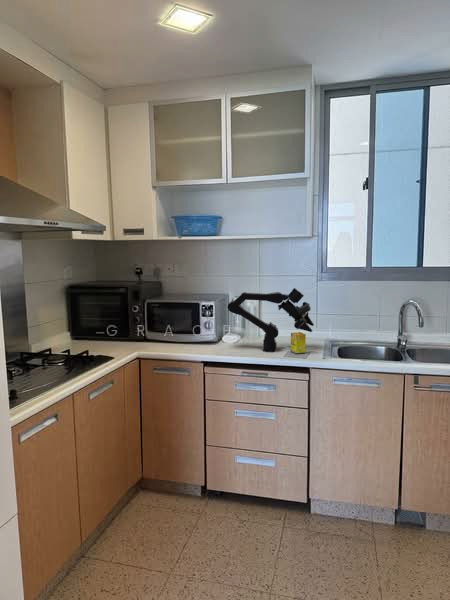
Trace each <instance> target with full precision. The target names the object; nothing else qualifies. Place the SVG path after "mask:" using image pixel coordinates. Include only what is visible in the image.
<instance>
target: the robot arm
mask: <svg viewBox="0 0 450 600" xmlns="http://www.w3.org/2000/svg"><path fill="white" fill-rule="evenodd" d="M303 298H304V294H303V293H302V292H301V291H300V290H298V289H297V288H295V287H293V288H292V290H291V291H290V292H289V294H286V293H285V294H284V293H282V292H280V291H279V292H278V291H276V292H269V293H262V292H261V293H256V292H242V293H241V294H240V295H239V296H238V297H237V298H236V299H235V300H231V301H229V303H228V304H227V310H228V311H229V312H230V313H233V314H235V315H238V316H241V317H242V318H243V319H245V320H247V321H248V322H250V323H251V324H253V325H255V326H256V327H258V328H259V329H261V330H262V331H263V332H264V337H263V344H262V345H263V349H262V352H269V353H275V352H276V351H277V347H278V345H277V343H278V342H277V341H276V338H277V337H279V336H278V335H279V329H278V326H277V325H276V324H273V323H272V322H271V321H270V322H269V323H267V322H265V321H263V319H260V318H259V317H257V315H254V314H253V313H251V312H249V311H247V310H246V308H244V307H243V306H242V305H241V304H243V303H244V302H245V301H249V300H250V301H264V302H268V303H272V304H277V307H278V311H280V310H281V309H282V310H283V311H285V312H286V313H287V314H288V317H290V318H291V317H292V319H294V325H293V326H294V328H295V329H296V330H302V331H306V332H309V333H312V332H313V329H312V328H311V327H310V326H312V327H314V325H315V324H314V323H313V321H312V319H311V318H310V316H309V312H310V311H311V306H310V303H309V302H307V301H304V302H302V305H301V306H298V305H295V304H298V303H299V302H300V301H301V300H302V299H303Z"/></svg>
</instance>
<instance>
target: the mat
mask: <svg viewBox="0 0 450 600" xmlns="http://www.w3.org/2000/svg"><path fill="white" fill-rule="evenodd" d="M290 351H291V350H288V351H286V352H285V354H284V355H283V356H284V358H285V357H286V358H297V359H307V358H308V357H309V355H310V352H306V351H305V354H298V355H296V354H294V353H292V352H290Z"/></svg>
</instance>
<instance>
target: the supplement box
mask: <svg viewBox="0 0 450 600" xmlns="http://www.w3.org/2000/svg"><path fill="white" fill-rule="evenodd" d="M306 339H307V335H306V333H303V332H300V331H295V332H294V331H293V332H290V350H289V351H290V352H292V353H294V354H296V355H298V354H305V352H306Z"/></svg>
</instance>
